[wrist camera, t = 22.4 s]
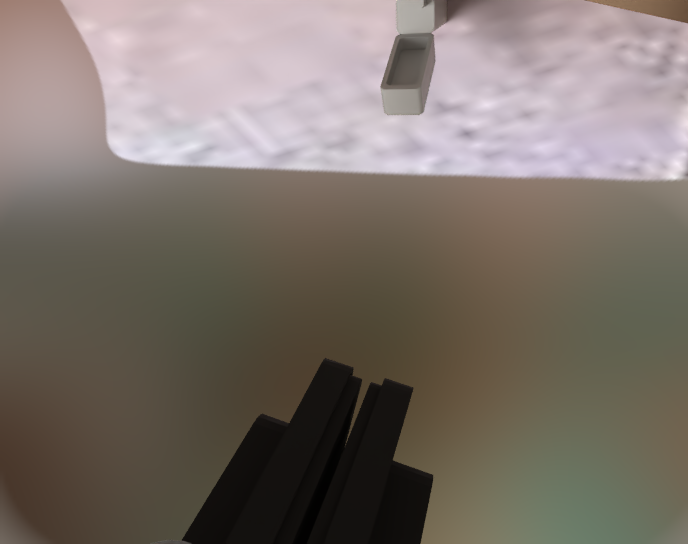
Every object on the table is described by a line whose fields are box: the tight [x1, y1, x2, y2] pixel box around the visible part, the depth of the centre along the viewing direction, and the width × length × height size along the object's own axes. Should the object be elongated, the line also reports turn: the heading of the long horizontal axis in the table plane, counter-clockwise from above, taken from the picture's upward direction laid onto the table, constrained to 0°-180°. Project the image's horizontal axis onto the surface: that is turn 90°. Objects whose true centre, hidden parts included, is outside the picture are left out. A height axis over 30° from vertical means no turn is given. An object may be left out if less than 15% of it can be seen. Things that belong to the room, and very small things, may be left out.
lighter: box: [380, 0, 447, 115], centre depth 27 cm, size 7×2×8 cm, turn 4°
